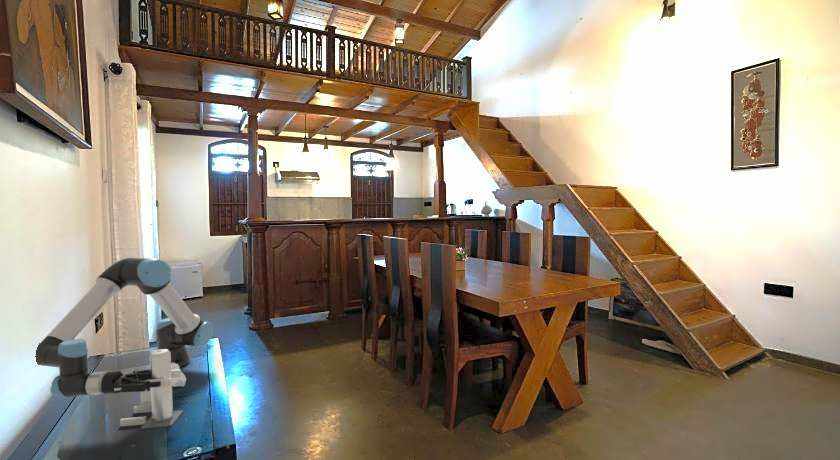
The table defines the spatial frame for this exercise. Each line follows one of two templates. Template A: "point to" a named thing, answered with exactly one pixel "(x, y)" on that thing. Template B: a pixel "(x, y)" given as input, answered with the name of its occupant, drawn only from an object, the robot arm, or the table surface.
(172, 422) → the mat
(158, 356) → the air filter
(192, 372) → the table surface
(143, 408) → the housing
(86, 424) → the table surface
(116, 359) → the table surface
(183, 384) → the duck figurine
